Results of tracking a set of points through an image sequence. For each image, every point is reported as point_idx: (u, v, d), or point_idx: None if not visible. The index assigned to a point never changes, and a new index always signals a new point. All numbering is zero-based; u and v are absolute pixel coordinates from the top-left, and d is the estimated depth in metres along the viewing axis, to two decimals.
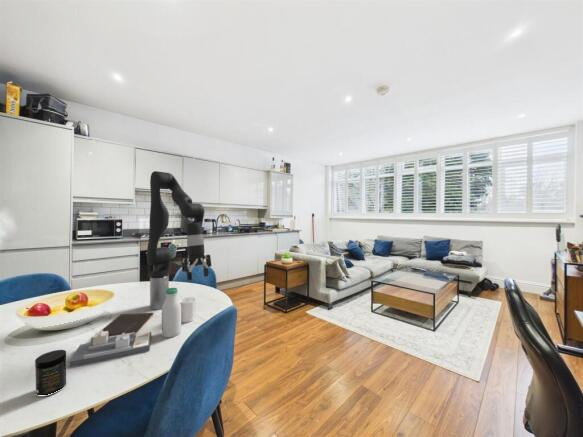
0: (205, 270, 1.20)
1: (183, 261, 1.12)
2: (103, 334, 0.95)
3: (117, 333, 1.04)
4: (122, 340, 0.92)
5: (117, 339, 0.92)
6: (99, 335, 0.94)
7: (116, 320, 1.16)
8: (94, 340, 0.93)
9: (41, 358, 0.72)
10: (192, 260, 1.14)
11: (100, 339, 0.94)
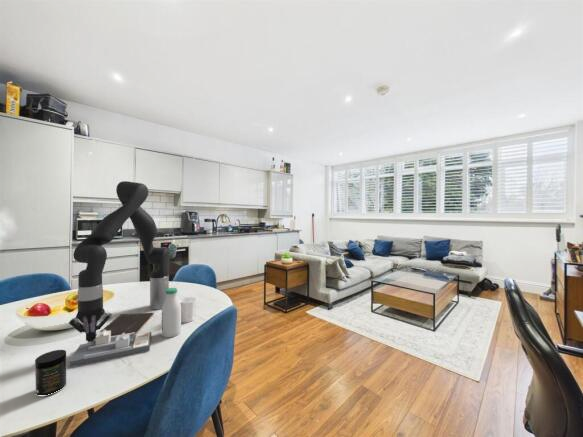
0: None
1: None
2: (106, 334, 0.95)
3: (117, 333, 1.04)
4: (122, 340, 0.92)
5: (117, 339, 0.92)
6: (102, 335, 0.94)
7: (116, 320, 1.16)
8: (97, 340, 0.93)
9: (41, 358, 0.72)
10: (81, 320, 0.92)
11: (103, 339, 0.94)
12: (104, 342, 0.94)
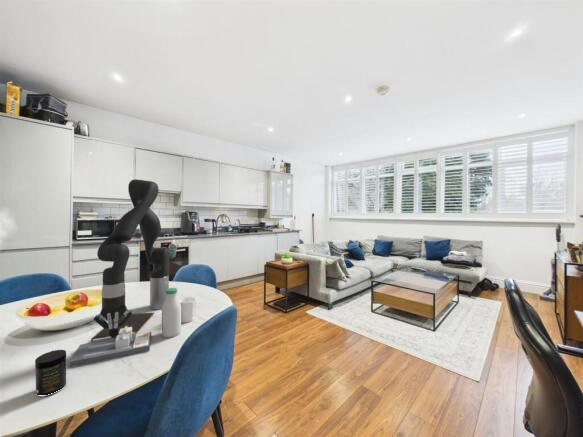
0: None
1: None
2: (128, 330, 0.99)
3: (118, 333, 1.04)
4: (122, 340, 0.92)
5: (117, 339, 0.92)
6: (124, 331, 0.97)
7: None
8: None
9: (41, 358, 0.72)
10: (105, 317, 0.95)
11: None
12: None
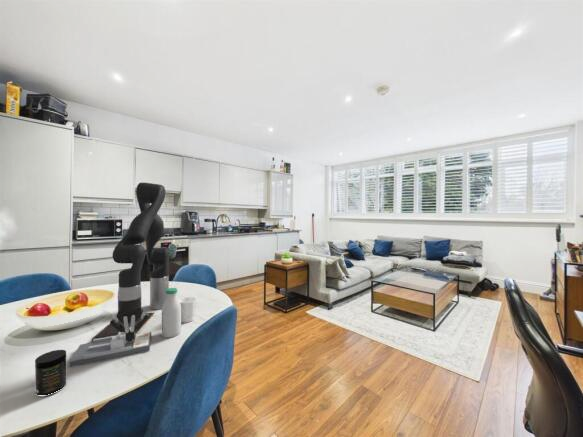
0: None
1: None
2: None
3: (118, 333, 1.04)
4: (117, 341, 0.91)
5: (112, 340, 0.91)
6: None
7: None
8: None
9: (41, 358, 0.72)
10: (121, 320, 0.92)
11: (125, 335, 0.97)
12: None
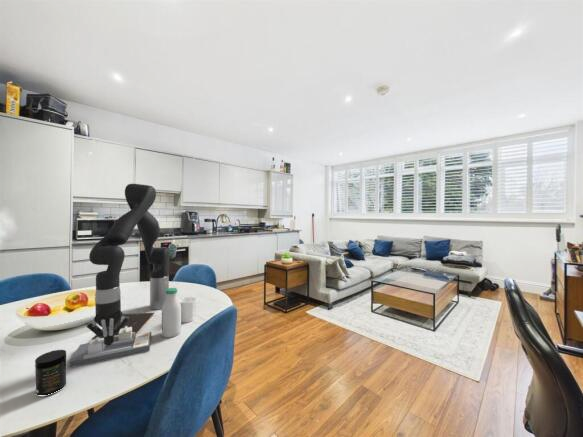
0: None
1: None
2: (128, 330, 0.99)
3: (118, 333, 1.04)
4: (95, 345, 0.88)
5: (90, 344, 0.88)
6: (124, 331, 0.97)
7: None
8: (120, 335, 0.96)
9: (41, 358, 0.72)
10: (99, 323, 0.89)
11: (125, 335, 0.97)
12: (126, 338, 0.97)
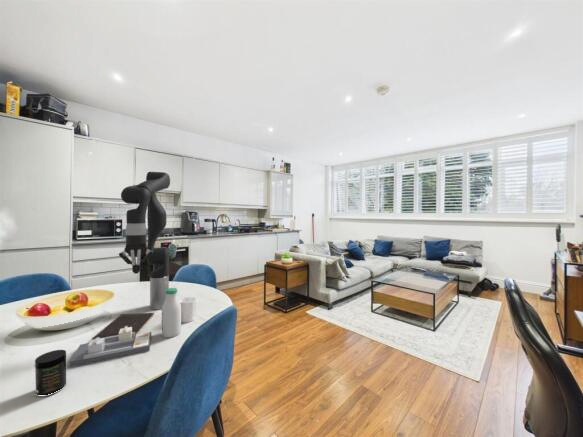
0: None
1: None
2: (128, 330, 0.99)
3: (118, 333, 1.04)
4: (95, 345, 0.88)
5: (90, 344, 0.88)
6: (124, 331, 0.97)
7: (116, 320, 1.16)
8: (120, 335, 0.96)
9: (41, 358, 0.72)
10: (128, 253, 1.04)
11: (125, 335, 0.97)
12: (126, 338, 0.97)
